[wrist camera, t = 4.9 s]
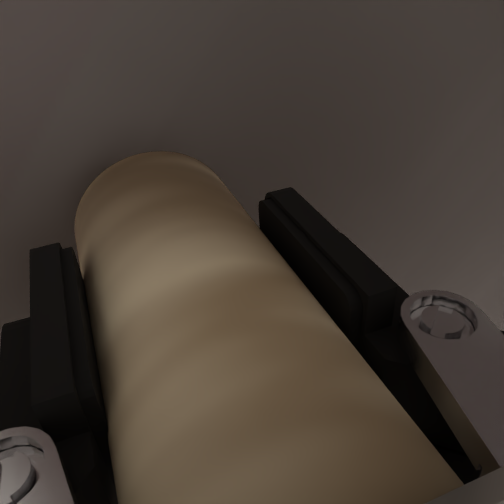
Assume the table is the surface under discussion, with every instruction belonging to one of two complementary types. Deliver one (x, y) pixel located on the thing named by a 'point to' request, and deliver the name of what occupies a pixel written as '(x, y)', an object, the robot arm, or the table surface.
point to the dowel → (229, 357)
